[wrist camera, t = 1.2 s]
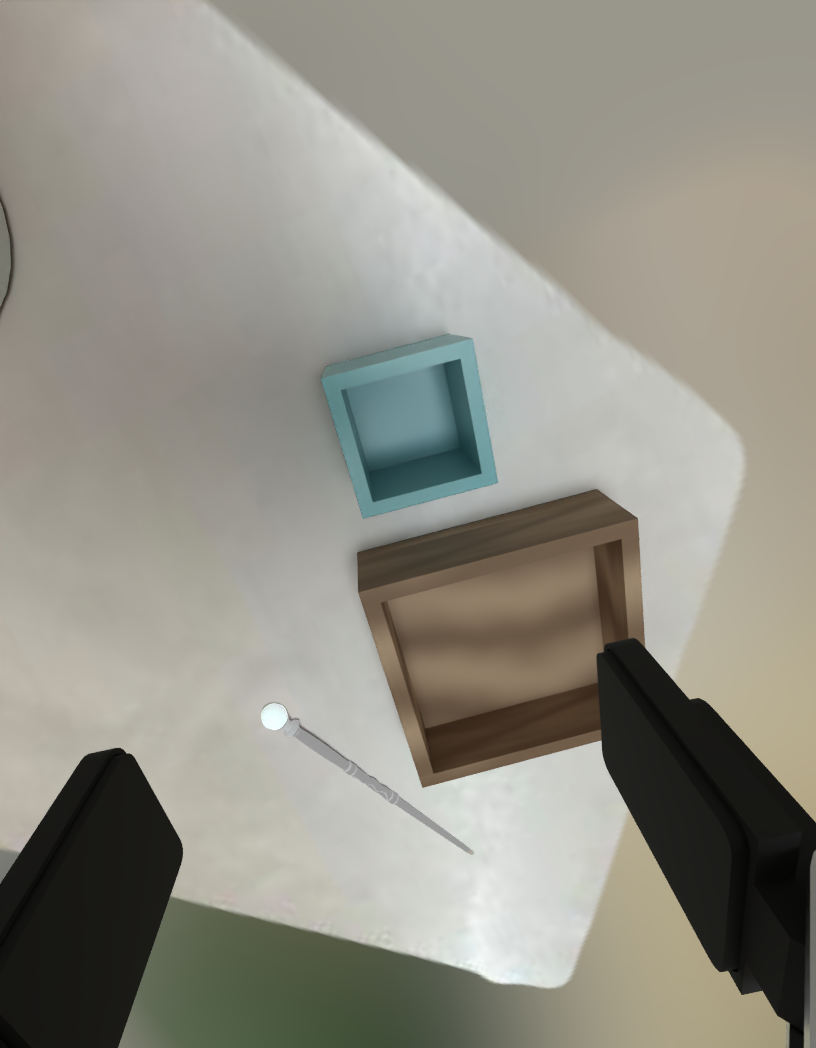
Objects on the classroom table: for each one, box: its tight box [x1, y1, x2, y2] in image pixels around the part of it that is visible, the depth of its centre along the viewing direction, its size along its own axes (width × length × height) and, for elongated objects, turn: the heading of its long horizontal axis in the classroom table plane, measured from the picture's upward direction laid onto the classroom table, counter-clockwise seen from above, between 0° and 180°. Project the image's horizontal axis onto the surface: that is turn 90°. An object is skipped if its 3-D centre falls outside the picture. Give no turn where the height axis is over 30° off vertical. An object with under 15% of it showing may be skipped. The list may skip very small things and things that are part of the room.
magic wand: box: [261, 703, 474, 855], centre depth 40 cm, size 2×25×2 cm
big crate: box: [357, 490, 645, 788], centre depth 33 cm, size 16×16×5 cm
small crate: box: [321, 334, 498, 519], centre depth 26 cm, size 7×7×6 cm
